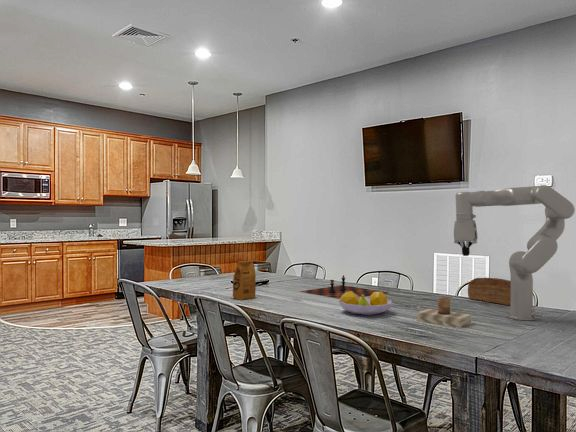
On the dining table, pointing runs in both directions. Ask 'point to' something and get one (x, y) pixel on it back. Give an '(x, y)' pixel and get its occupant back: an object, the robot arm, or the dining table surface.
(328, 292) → the chessboard
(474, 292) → the bread
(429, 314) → the board
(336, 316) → the dining table surface
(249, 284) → the coffee package
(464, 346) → the dining table surface
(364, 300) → the fruit bowl
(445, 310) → the peg
